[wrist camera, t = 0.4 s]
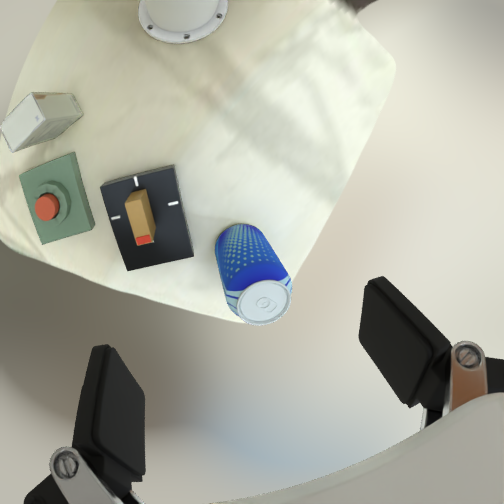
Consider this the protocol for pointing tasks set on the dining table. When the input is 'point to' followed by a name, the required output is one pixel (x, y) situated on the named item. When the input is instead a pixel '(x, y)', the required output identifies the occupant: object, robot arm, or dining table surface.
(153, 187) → the base
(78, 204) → the button block
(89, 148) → the dining table surface
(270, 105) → the dining table surface
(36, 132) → the cosmetic box
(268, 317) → the beer can
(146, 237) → the tap handle
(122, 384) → the robot arm
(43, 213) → the button
